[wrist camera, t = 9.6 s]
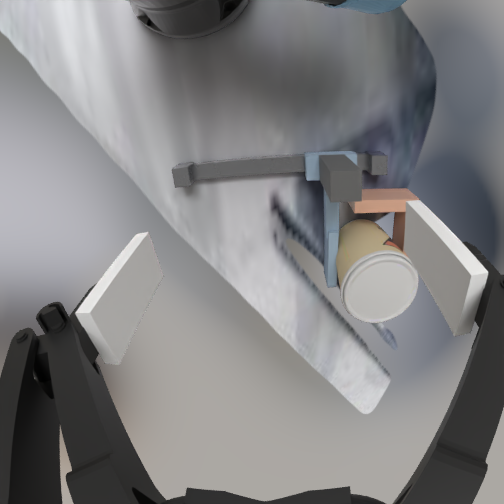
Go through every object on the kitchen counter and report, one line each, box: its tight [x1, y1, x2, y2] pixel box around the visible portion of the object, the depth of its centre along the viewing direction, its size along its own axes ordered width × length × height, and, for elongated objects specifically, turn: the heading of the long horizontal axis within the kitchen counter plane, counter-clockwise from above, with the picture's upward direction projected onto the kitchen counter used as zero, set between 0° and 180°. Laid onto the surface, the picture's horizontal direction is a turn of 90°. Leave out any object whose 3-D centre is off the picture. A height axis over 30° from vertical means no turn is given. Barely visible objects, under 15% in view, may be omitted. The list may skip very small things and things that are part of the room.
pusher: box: [304, 151, 362, 287], centre depth 36 cm, size 18×6×11 cm, turn 6°
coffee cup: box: [336, 219, 418, 323], centre depth 38 cm, size 9×9×12 cm
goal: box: [348, 188, 420, 257], centre depth 41 cm, size 16×9×4 cm, turn 6°
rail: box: [172, 151, 388, 188], centre depth 37 cm, size 2×26×3 cm, turn 95°
